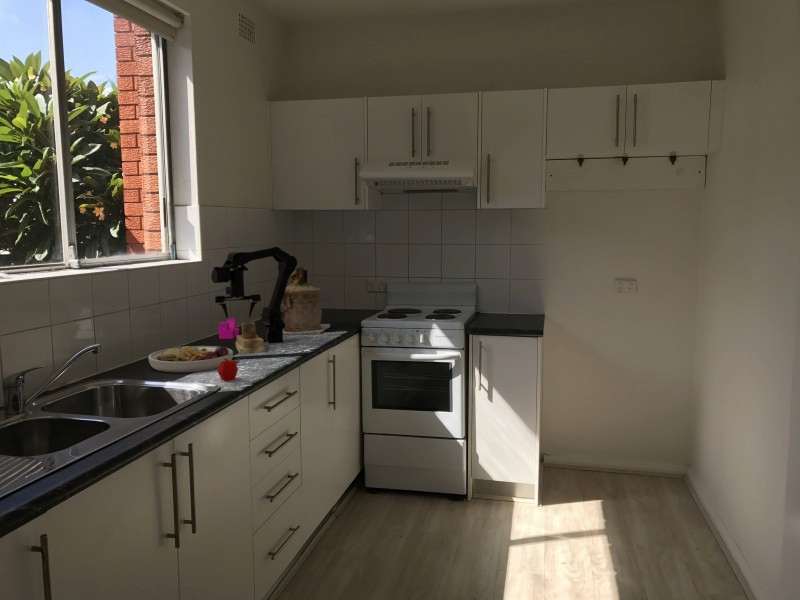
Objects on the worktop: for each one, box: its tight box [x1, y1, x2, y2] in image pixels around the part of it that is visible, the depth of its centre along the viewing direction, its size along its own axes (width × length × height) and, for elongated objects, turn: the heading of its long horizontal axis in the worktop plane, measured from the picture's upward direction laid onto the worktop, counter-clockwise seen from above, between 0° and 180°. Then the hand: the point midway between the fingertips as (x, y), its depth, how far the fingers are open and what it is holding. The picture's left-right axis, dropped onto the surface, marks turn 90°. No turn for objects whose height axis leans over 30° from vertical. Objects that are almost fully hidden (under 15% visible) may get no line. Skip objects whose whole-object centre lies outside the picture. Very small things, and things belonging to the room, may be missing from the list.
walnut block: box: [241, 321, 257, 339], centre depth 279 cm, size 5×5×6 cm
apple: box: [217, 358, 239, 382], centre depth 226 cm, size 7×7×8 cm
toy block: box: [218, 317, 240, 340], centre depth 314 cm, size 15×6×8 cm, turn 178°
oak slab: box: [235, 334, 265, 349], centre depth 280 cm, size 8×16×3 cm, turn 24°
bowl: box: [148, 345, 234, 373], centre depth 251 cm, size 30×30×8 cm
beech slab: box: [234, 341, 266, 355], centre depth 280 cm, size 10×18×3 cm, turn 20°
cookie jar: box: [280, 265, 331, 336], centre depth 327 cm, size 25×25×32 cm
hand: (238, 318), depth 285 cm, fingers open, 9 cm apart
